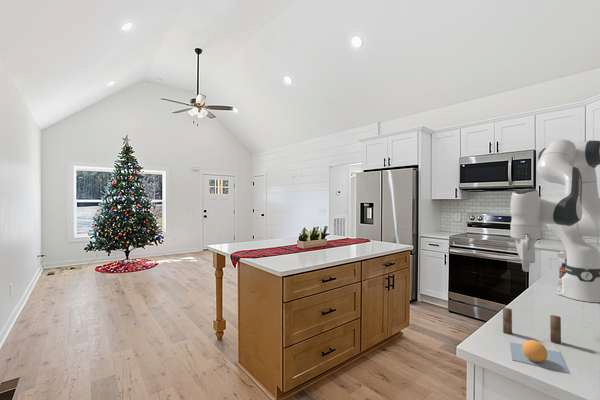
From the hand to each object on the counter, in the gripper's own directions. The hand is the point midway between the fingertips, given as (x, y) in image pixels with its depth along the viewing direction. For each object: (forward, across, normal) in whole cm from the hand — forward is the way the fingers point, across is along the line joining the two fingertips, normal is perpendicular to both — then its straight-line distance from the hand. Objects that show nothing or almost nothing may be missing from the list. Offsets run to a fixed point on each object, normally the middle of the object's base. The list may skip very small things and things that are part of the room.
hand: (525, 270), depth 107 cm
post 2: (+19, -13, -6) cm, 24 cm away
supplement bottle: (+19, +69, -22) cm, 75 cm away
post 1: (+19, -13, +6) cm, 24 cm away
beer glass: (+19, +83, -24) cm, 89 cm away
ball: (+16, -30, +1) cm, 34 cm away
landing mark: (+19, -27, 0) cm, 33 cm away
